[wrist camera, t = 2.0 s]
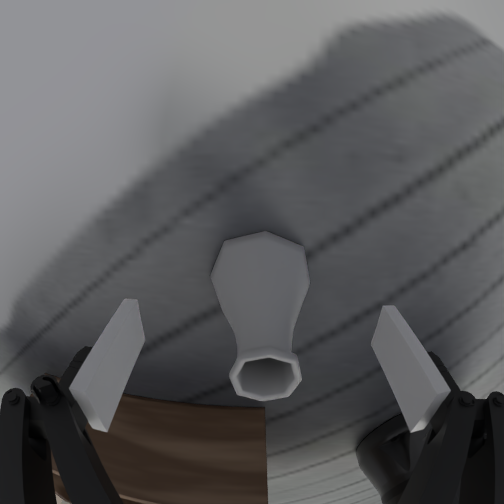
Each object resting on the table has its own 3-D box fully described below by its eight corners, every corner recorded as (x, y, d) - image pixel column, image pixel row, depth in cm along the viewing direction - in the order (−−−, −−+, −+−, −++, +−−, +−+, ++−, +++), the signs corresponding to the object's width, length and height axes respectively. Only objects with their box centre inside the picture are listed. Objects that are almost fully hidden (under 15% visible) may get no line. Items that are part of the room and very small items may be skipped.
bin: (256, 470, 32) (257, 541, 21) (87, 443, 32) (65, 501, 21) (264, 407, 26) (268, 513, 15) (45, 373, 26) (1, 442, 15)
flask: (317, 233, 20) (368, 314, 11) (302, 321, 22) (325, 423, 13) (212, 225, 20) (177, 303, 10) (209, 315, 22) (188, 418, 13)
